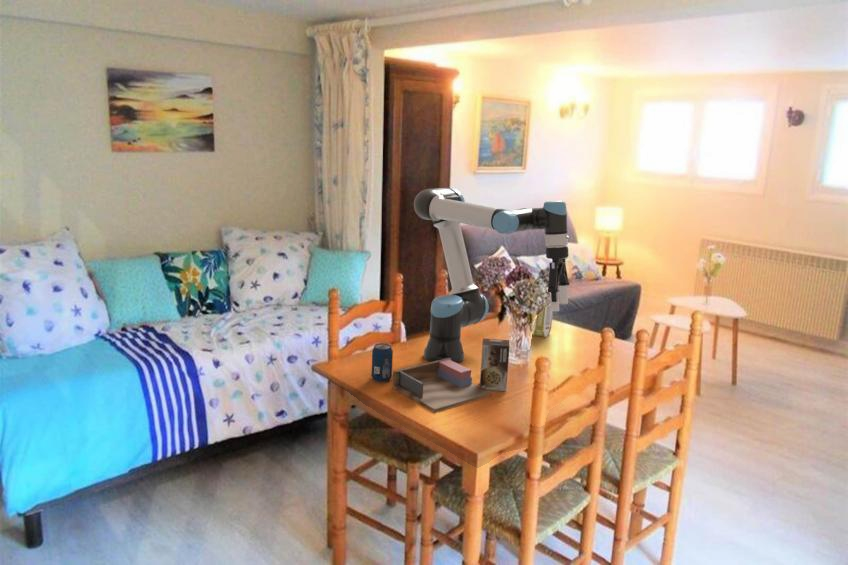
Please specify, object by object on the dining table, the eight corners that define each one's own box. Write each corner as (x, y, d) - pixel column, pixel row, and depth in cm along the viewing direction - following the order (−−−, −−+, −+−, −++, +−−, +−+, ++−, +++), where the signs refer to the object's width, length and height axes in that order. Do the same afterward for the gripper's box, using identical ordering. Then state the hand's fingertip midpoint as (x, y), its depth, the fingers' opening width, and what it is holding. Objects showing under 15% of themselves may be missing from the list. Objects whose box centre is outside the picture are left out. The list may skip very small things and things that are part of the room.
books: (437, 375, 219) (438, 362, 218) (448, 372, 222) (449, 359, 221) (460, 387, 210) (461, 373, 209) (471, 384, 213) (472, 370, 212)
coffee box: (506, 384, 217) (509, 339, 214) (506, 391, 211) (510, 346, 207) (479, 382, 218) (482, 337, 214) (479, 389, 212) (482, 343, 208)
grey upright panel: (398, 385, 209) (398, 371, 208) (400, 385, 209) (400, 371, 208) (420, 398, 200) (421, 383, 199) (422, 397, 200) (423, 383, 199)
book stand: (392, 387, 210) (393, 370, 208) (447, 373, 224) (448, 357, 223) (434, 412, 193) (435, 394, 191) (491, 395, 208) (492, 378, 206)
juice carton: (551, 333, 277) (556, 291, 272) (547, 338, 269) (551, 295, 265) (534, 330, 280) (538, 288, 275) (529, 335, 272) (533, 292, 268)
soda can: (378, 373, 221) (379, 341, 218) (395, 378, 218) (396, 345, 215) (367, 380, 215) (368, 346, 212) (384, 384, 212) (386, 350, 209)
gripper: (559, 249, 204) (562, 314, 206) (575, 242, 226) (577, 301, 229) (536, 250, 207) (540, 314, 210) (554, 243, 229) (556, 301, 232)
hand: (559, 307), depth 219 cm, fingers open, 13 cm apart
